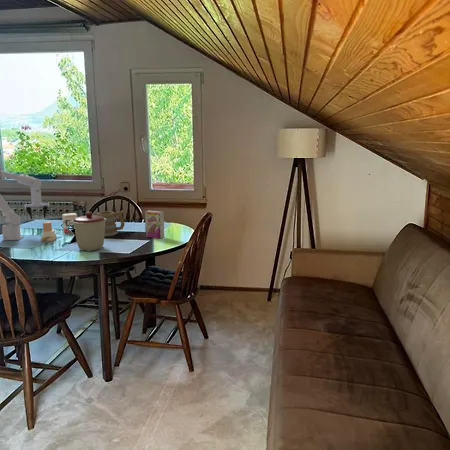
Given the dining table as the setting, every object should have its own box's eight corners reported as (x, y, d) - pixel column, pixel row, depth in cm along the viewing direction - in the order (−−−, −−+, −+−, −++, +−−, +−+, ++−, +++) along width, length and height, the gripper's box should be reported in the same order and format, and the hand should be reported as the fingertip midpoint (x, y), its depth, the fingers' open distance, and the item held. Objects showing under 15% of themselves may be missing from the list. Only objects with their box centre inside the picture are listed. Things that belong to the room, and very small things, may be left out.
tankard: (98, 237, 263) (96, 213, 260) (95, 232, 275) (94, 210, 272) (130, 234, 271) (129, 211, 268) (126, 230, 283) (125, 208, 280)
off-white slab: (42, 236, 252) (42, 232, 252) (44, 234, 258) (44, 229, 258) (53, 236, 254) (53, 231, 253) (55, 234, 260) (54, 229, 259)
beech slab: (41, 241, 253) (40, 237, 252) (44, 239, 260) (44, 234, 259) (53, 241, 254) (53, 236, 253) (56, 238, 261) (56, 234, 260)
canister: (108, 251, 230) (106, 213, 226) (73, 254, 225) (70, 215, 221) (107, 243, 247) (105, 208, 243) (74, 246, 242) (72, 209, 238)
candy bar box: (145, 237, 262) (144, 211, 259) (149, 235, 267) (148, 210, 264) (160, 239, 258) (159, 212, 255) (164, 237, 262) (164, 211, 259)
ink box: (65, 233, 274) (63, 215, 272) (63, 231, 278) (61, 214, 276) (78, 231, 279) (77, 213, 276) (76, 230, 283) (75, 212, 280)
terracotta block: (43, 231, 253) (43, 223, 252) (43, 230, 257) (42, 222, 256) (51, 230, 255) (51, 222, 254) (51, 229, 259) (50, 221, 258)
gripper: (22, 198, 259) (24, 220, 262) (48, 197, 264) (50, 218, 266) (24, 197, 266) (26, 218, 268) (49, 196, 270) (50, 216, 273)
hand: (38, 218), depth 268 cm, fingers open, 7 cm apart
